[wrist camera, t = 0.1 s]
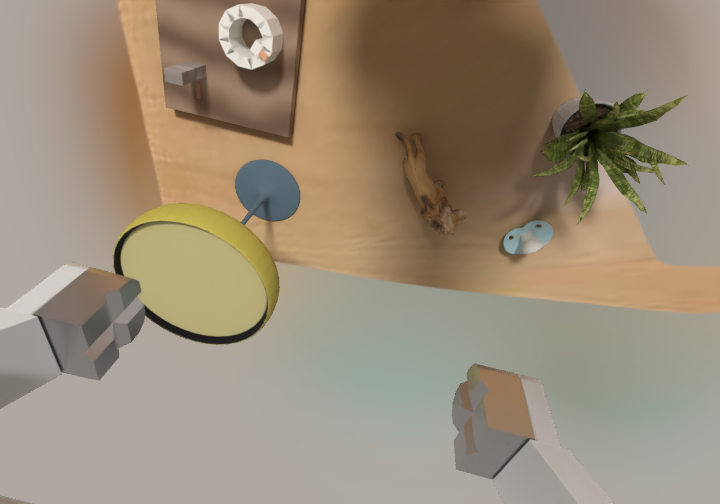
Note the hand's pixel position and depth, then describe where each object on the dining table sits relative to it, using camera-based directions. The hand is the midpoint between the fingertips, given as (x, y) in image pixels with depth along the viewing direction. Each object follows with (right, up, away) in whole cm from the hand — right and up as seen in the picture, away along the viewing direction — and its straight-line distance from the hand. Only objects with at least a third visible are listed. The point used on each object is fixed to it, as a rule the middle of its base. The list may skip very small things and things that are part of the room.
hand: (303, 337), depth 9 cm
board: (-16, +29, +41) cm, 53 cm away
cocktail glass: (-14, +12, +53) cm, 56 cm away
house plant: (+28, +19, +41) cm, 53 cm away
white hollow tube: (-11, +29, +38) cm, 49 cm away
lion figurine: (+12, +14, +47) cm, 51 cm away
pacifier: (+28, +5, +51) cm, 58 cm away
